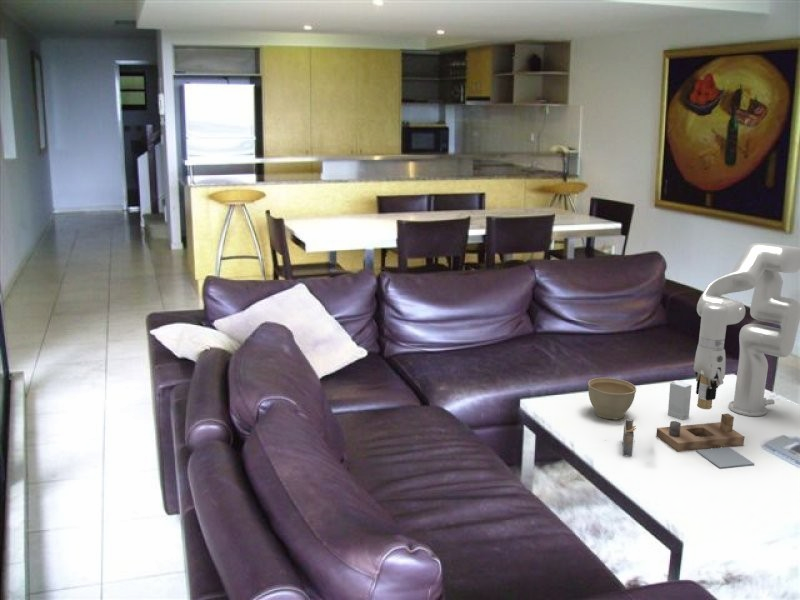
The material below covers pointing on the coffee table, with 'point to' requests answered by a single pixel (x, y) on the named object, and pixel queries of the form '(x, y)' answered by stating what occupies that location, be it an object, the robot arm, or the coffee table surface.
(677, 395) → the skincare box
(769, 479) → the coffee table surface
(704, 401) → the sprinkles bottle
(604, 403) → the planter bowl
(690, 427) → the wooden peg board
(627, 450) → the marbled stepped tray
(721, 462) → the pad
